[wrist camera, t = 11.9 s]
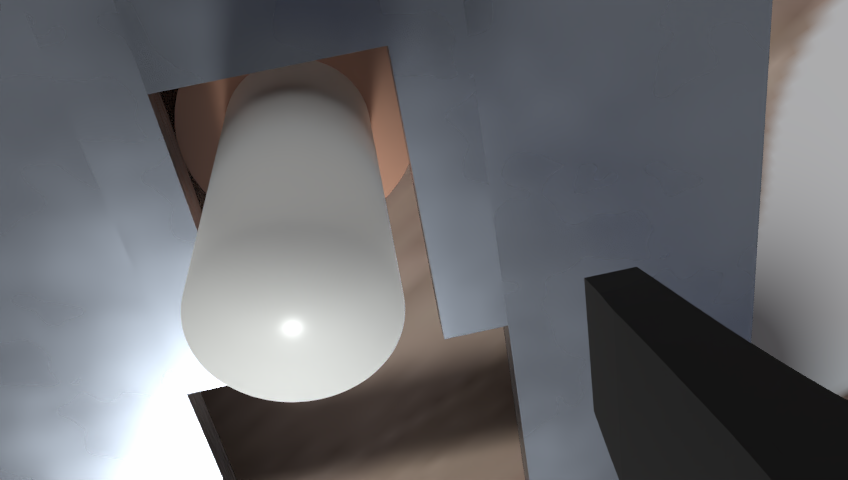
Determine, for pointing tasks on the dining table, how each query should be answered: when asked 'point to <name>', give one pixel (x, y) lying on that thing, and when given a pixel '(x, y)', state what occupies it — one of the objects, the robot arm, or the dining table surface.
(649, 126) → the keyhole plate
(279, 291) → the keyhole peg
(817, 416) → the robot arm
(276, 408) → the dining table surface
